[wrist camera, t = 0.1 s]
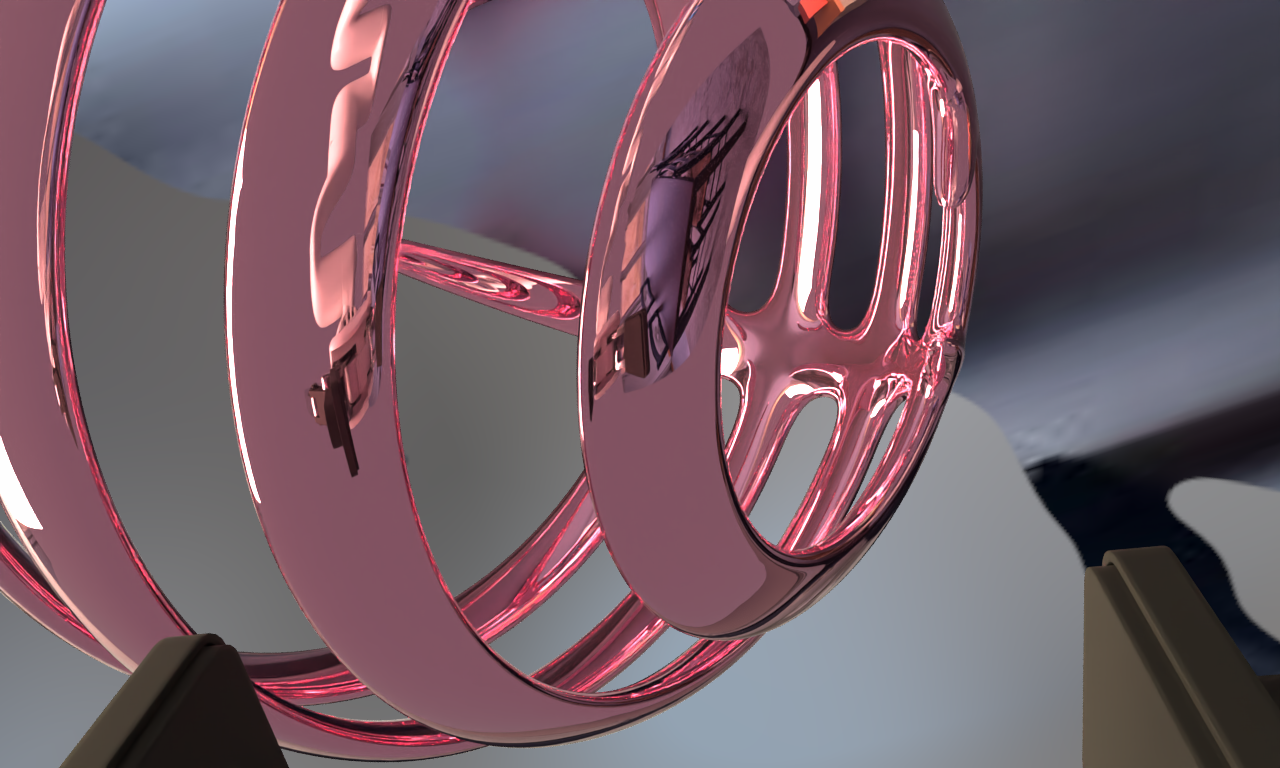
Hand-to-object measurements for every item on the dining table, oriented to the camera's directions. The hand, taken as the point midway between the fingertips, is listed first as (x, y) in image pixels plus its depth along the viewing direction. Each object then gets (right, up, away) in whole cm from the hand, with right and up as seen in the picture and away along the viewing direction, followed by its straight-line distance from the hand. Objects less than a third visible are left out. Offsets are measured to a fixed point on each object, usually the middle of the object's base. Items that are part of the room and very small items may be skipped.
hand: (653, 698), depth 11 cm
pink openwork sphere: (-2, +13, +29) cm, 32 cm away
